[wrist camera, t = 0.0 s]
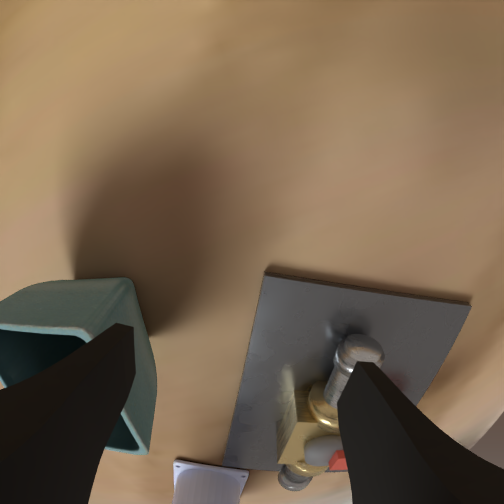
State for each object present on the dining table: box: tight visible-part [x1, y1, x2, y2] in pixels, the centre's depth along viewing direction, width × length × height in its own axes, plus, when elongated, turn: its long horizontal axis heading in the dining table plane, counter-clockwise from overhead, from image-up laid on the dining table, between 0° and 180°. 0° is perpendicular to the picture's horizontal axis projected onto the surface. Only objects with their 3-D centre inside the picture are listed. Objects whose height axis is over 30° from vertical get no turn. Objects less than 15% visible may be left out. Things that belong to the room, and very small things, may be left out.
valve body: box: [222, 271, 472, 491], centre depth 22 cm, size 22×16×4 cm
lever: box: [304, 435, 348, 470], centre depth 20 cm, size 11×3×2 cm, turn 80°
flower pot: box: [0, 277, 157, 455], centre depth 17 cm, size 9×9×9 cm
